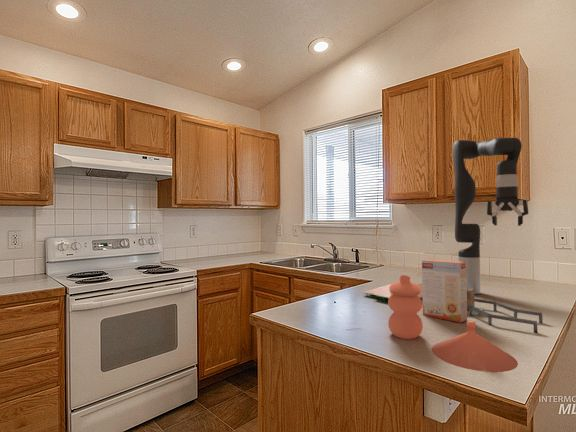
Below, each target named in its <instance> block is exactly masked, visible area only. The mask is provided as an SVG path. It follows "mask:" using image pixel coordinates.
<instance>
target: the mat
mask: <svg viewBox="0 0 576 432" xmlns="http://www.w3.org/2000/svg"><path fill="white" fill-rule="evenodd" d="M477 308H478V309H480V310H483V311H485V310H484V308H482V307H477ZM479 314H480V313H478V312H476V311H474V310H473V311H472V316H478V315H479ZM467 315H469V311H467Z"/></svg>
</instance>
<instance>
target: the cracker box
mask: <svg viewBox="0 0 576 432" xmlns="http://www.w3.org/2000/svg"><path fill="white" fill-rule="evenodd" d="M421 277H422V279H421V280H422V282H421V284H422V299H423V301H422V315H423V316H426V317H431V318H435V319H441V320H444V321H450V322H453V323H454V322H455V323H459V324H460V323H463V322H465V321H466V322H467V321H468V314H467V276H466V262H463V261H459V260H448V259H438V258H437V259H435V258H425V259H422V260H421Z"/></svg>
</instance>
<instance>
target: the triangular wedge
mask: <svg viewBox="0 0 576 432" xmlns="http://www.w3.org/2000/svg"><path fill="white" fill-rule="evenodd" d="M391 284H392V283H390V284H385V285H383V286H380V287H379V286H378V287H376V288H373V289H368V290H364V291H363V294H364V293H365V297H370V298H372V296H375V297H377V298H379V300H381V301H382V302H387V303H388V300H389V297H390V296H391V295H393V294H392V293H391V292H390V290H389V287H390V285H391ZM416 284H417V283H416ZM417 285H418V286H419V287H420V289H421V292H420V294H419V295H416V296H418V297H420V299H421V301H422V302H423V299H422V283H418V284H417ZM386 299H387V300H386Z"/></svg>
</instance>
